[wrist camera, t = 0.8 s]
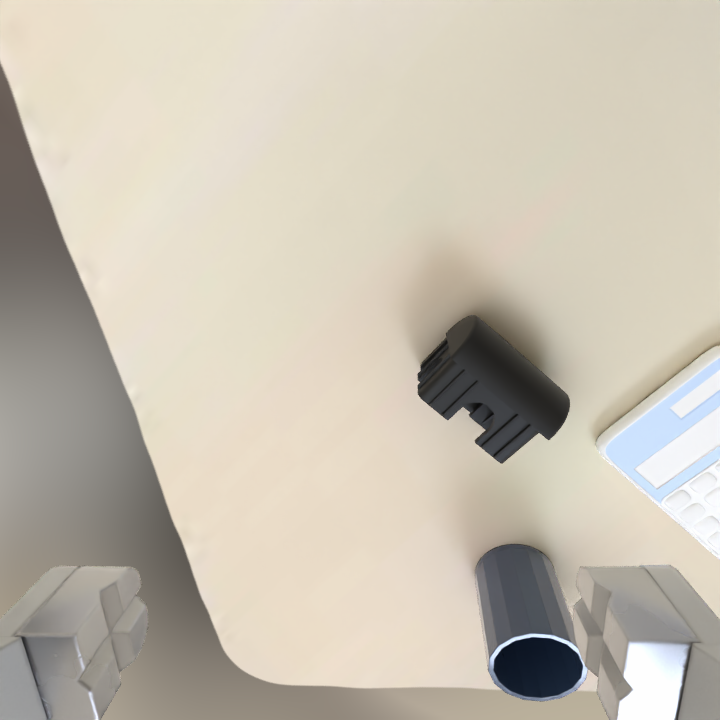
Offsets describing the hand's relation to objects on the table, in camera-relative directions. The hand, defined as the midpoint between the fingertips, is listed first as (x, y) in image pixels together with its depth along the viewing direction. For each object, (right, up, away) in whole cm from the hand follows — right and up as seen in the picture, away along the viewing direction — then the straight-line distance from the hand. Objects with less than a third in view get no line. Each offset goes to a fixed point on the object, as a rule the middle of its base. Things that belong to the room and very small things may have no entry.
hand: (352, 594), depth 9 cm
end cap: (+11, +4, +32) cm, 34 cm away
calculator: (+32, -5, +33) cm, 46 cm away
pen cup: (+16, -18, +39) cm, 46 cm away
